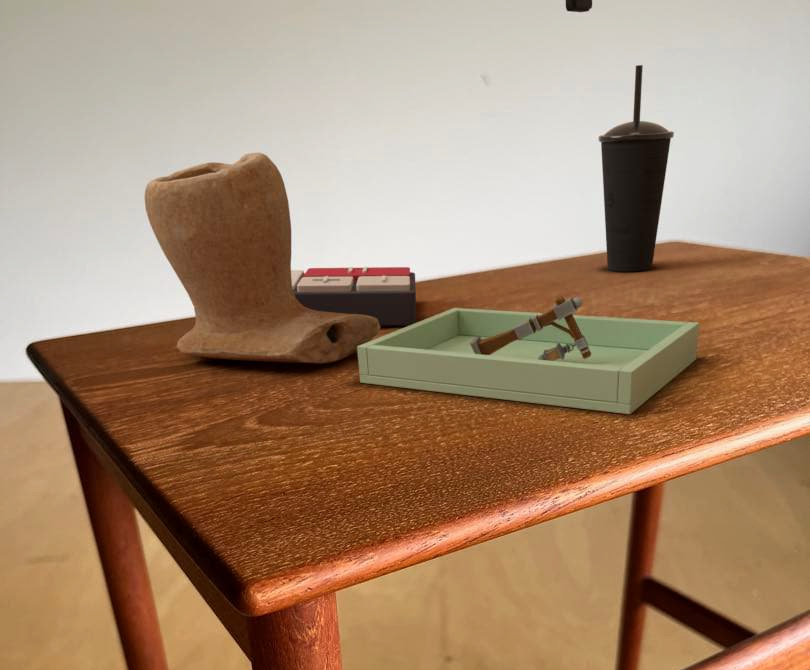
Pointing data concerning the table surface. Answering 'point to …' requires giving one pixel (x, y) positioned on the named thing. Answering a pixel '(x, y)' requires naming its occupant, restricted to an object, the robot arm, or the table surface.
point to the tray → (533, 359)
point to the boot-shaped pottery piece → (243, 266)
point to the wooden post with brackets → (537, 323)
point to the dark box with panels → (359, 292)
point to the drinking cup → (633, 187)
